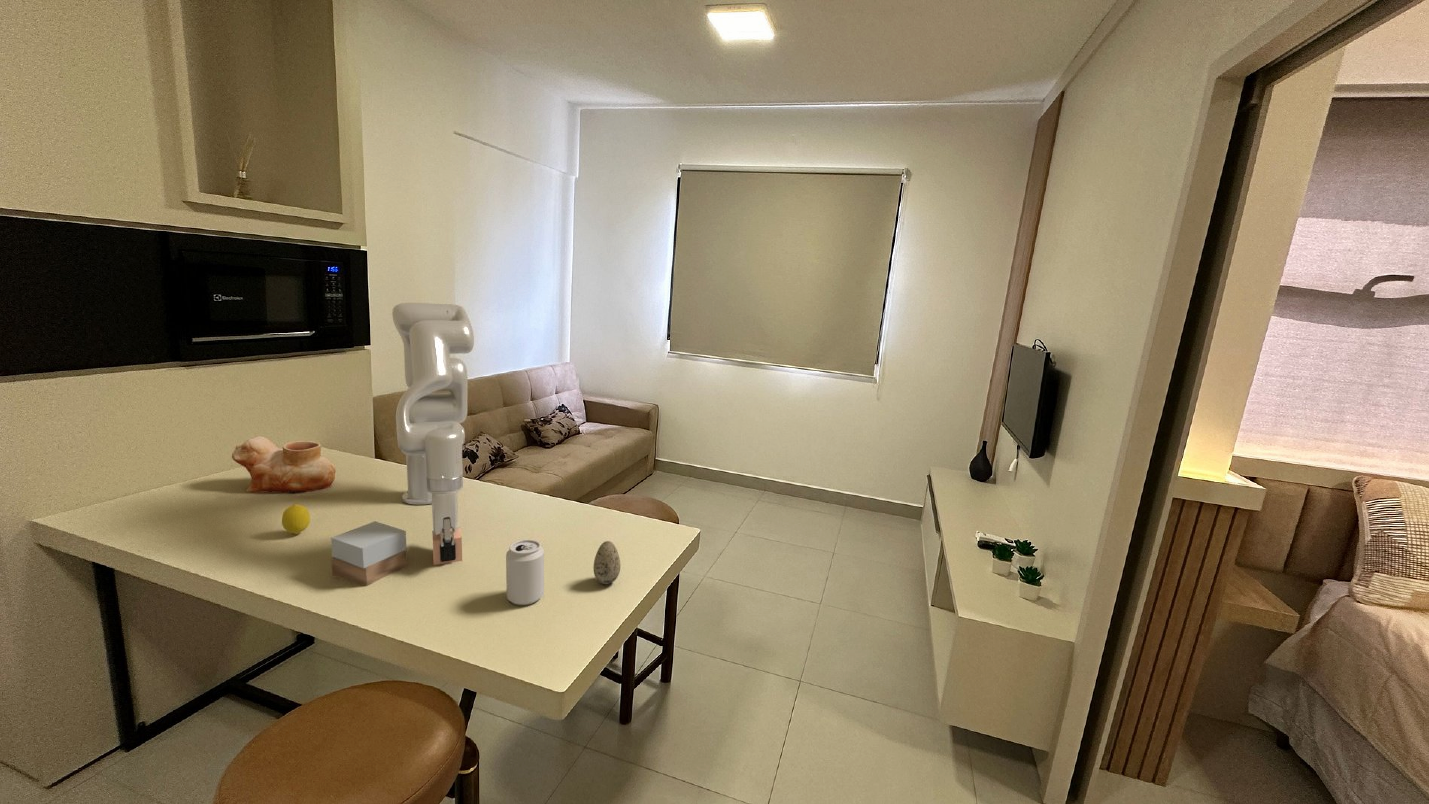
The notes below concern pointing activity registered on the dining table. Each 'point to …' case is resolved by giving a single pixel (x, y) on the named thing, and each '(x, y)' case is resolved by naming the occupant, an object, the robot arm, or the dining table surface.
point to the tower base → (368, 569)
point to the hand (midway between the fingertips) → (447, 553)
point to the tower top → (368, 544)
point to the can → (525, 572)
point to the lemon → (295, 519)
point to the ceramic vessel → (284, 466)
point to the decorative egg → (607, 563)
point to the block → (438, 542)
